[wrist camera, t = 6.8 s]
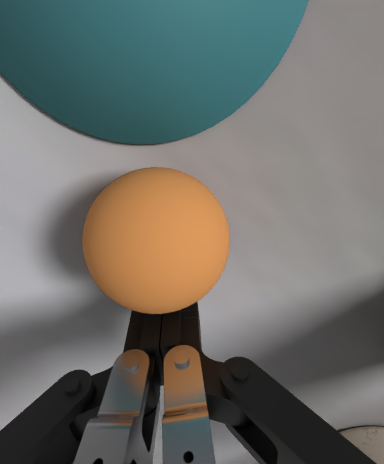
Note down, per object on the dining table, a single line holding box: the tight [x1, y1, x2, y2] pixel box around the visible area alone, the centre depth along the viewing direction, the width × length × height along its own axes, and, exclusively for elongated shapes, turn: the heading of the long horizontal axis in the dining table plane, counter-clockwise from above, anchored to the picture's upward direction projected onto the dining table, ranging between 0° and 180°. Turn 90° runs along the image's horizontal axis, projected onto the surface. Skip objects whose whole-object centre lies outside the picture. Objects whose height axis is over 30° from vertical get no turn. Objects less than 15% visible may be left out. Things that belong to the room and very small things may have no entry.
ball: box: [82, 167, 230, 314], centre depth 11 cm, size 6×6×6 cm
